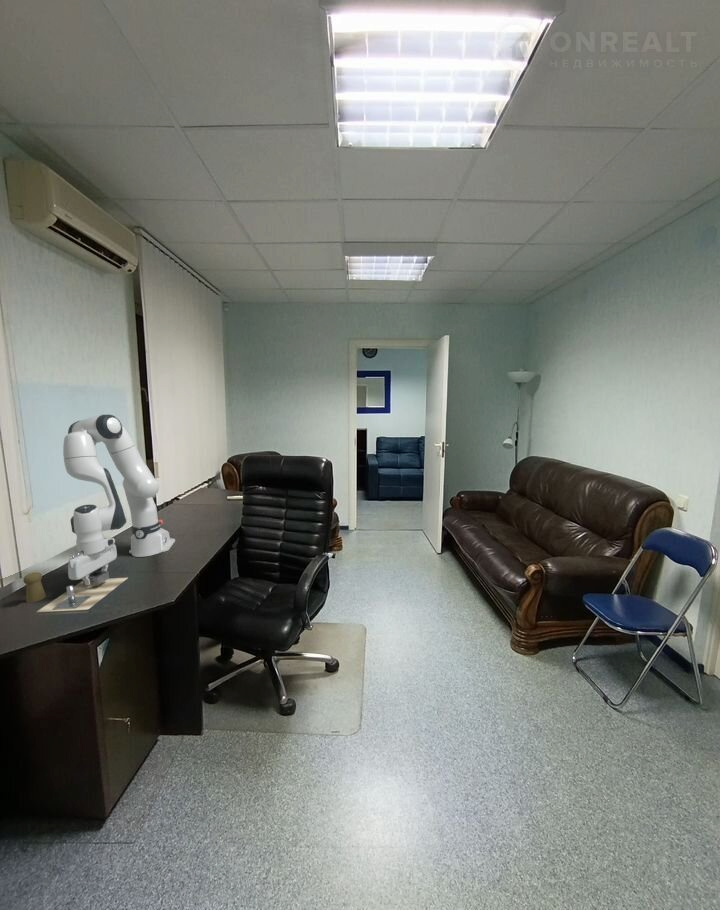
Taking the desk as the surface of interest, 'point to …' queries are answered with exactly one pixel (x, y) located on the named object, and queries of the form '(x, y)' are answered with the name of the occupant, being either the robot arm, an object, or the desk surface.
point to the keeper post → (71, 600)
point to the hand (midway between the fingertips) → (96, 580)
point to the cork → (34, 587)
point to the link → (98, 577)
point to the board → (84, 590)
